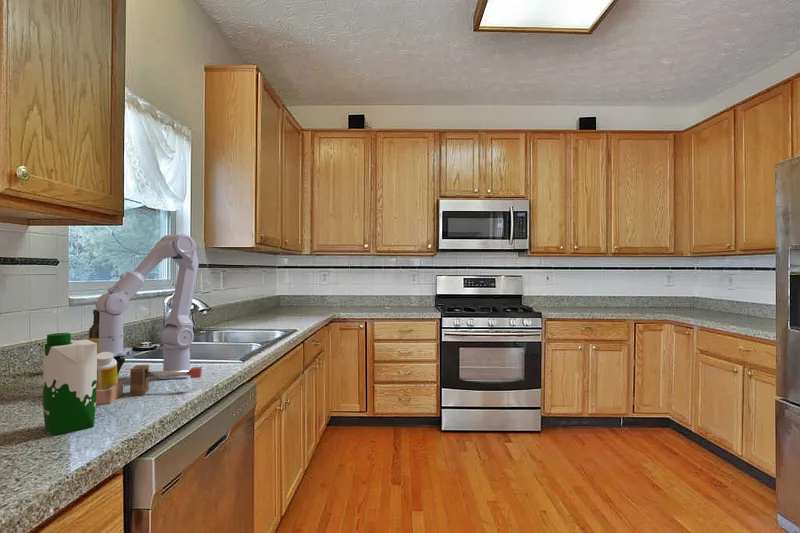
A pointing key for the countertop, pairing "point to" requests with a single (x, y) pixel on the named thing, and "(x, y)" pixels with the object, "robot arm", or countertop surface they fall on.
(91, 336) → the sauce bottle
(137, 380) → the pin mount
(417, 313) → the countertop surface
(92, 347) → the milk carton
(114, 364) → the supplement bottle
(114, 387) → the dock
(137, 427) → the countertop surface
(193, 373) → the lock pin
